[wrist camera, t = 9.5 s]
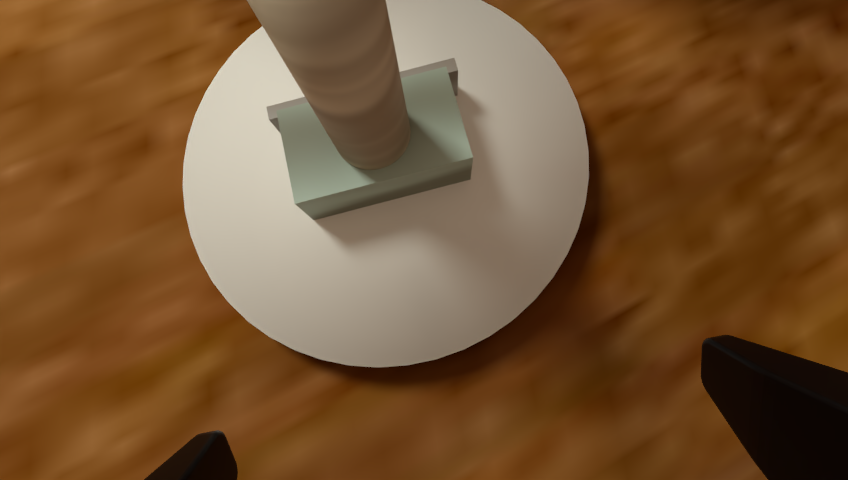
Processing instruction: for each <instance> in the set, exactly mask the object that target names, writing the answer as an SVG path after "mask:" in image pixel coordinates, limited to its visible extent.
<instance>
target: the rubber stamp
mask: <svg viewBox="0 0 848 480" xmlns="http://www.w3.org/2000/svg"><path fill="white" fill-rule="evenodd" d="M247 1H248V3H249V5H250V6H251V8H252V10H253V11H254V13H255V15H256V16H257V18H258V20H259V21H260V23H261V24H262V26H263V28H264V29H265V31H266V33H267V34H268V36H269V38H270V39H271V41H272V43H273V44H274V46H275V48H276V49H277V51H278V53H279V54H280V56H281V58H282V59H283V61H284V63H285V64H286V66H287V68H288V69H289V71H290V73H291V74H292V76H293V78H294V79H295V81H296V83H297V84H298V86H299V88H300V89H301V91H302V93H303V94H304V96H305V97H302V98H298V99H294V100H290V101H287V102H283V103H279V104H275V105H271V106H267V113H268V118H269V120H270V122H271V123H272V124H273V125H274V126H275V128H276V129H277V130H278V131H279V132H280V134H281V137H282V142H283V147H284V152H285V157H286V162H287V167H288V172H289V177H290V182H291V187H292V193H293V198H294V203H295V205H297V206H298V207H299V208H300V209H301V210H302V211H304V212H305V213H306V214H307V215H308V216H309V217H311V218H312V219H313V220H317V219H321V218H325V217H328V216H332V215H336V214H340V213H344V212H348V211H351V210H355V209H359V208H363V207H367V206H371V205H374V204H378V203H382V202H386V201H390V200H394V199H398V198H401V197H405V196H409V195H413V194H417V193H421V192H424V191H428V190H432V189H436V188H440V187H444V186H447V185H451V184H455V183H459V182H463V181H467V180H470V179H471V171H472V163H473V155H472V152H471V149H470V145H469V142H468V138H467V135H466V132H465V128H464V125H463V121H462V118H461V115H460V111H459V108H458V105H457V101H456V98H455V96H457V95H458V68H457V65H456V61H455V58H451V59H447V60H443V61H440V62H436V63H432V64H428V65H424V66H420V67H417V68H413V69H409V70H405V71H401V72H399V67H398V61H397V56H396V51H395V46H394V41H393V36H392V30H391V25H390V20H389V15H388V10H387V5H386V0H247Z"/></svg>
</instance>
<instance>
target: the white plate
mask: <svg viewBox="0 0 848 480" xmlns="http://www.w3.org/2000/svg"><path fill="white" fill-rule="evenodd" d="M386 5H387V10H388V15H389V20H390V25H391V30H392V36H393V41H394V46H395V51H396V56H397V61H398V67H399V72H401V71H405V70H409V69H413V68H417V67H420V66H424V65H428V64H432V63H436V62H440V61H443V60H447V59H451V58H455V61H456V65H457V68H458V95H457V96H455V98H456V101H457V105H458V108H459V111H460V115H461V118H462V121H463V125H464V128H465V132H466V135H467V138H468V142H469V145H470V149H471V152H472V155H473V163H472V171H471V179H470V180H467V181H463V182H459V183H455V184H451V185H447V186H444V187H440V188H436V189H432V190H428V191H424V192H421V193H417V194H413V195H409V196H405V197H401V198H398V199H394V200H390V201H386V202H382V203H378V204H374V205H371V206H367V207H363V208H359V209H355V210H351V211H348V212H344V213H340V214H336V215H332V216H328V217H325V218H321V219H317V220H313V219H312V218H311V217H309V216H308V215H307V214H306V213H305V212H304V211H302V210H301V209H300V208H299V207H298V206H297V205H295V203H294V198H293V193H292V187H291V182H290V177H289V172H288V167H287V162H286V157H285V152H284V147H283V142H282V137H281V134H280V132H279V131H278V130H277V129H276V128H275V126H274V125H273V124H272V123H271V122H270V120H269V118H268V113H267V106H271V105H275V104H279V103H283V102H287V101H290V100H294V99H298V98H302V97H305V96H304V94H303V93H302V91H301V89H300V88H299V86H298V84H297V83H296V81H295V79H294V78H293V76H292V74H291V73H290V71H289V69H288V68H287V66H286V64H285V63H284V61H283V59H282V58H281V56H280V54H279V53H278V51H277V49H276V48H275V46H274V44H273V43H272V41H271V39H270V38H269V36H268V34H267V33H266V31H265V29H264V28H263V26H262V27H261V28H259V29H258V30H257V31H256V32H254V33H253V34H252V35H251V36H250V37H249V38H248V39H247V40H246V41H245V42H244V43H243V44H242V45H240V46H239V47H238V48H237V49H236V50H235V51H234V52H233V54H232V55H231V56H230V57H229V59H228V60H227V61H226V62H225V64H224V65H223V66H222V67H221V69H220V70H219V71H218V73H217V74H216V76H215V78H214V79H213V81H212V83H211V84H210V86H209V87H208V89H207V91H206V92H205V95H204V97H203V99H202V101H201V103H200V105H199V108H198V110H197V112H196V114H195V117H194V120H193V124H192V127H191V130H190V133H189V136H188V141H187V146H186V152H185V158H184V168H183V195H184V206H185V214H186V218H187V222H188V226H189V231H190V235H191V238H192V240H193V243H194V245H195V248H196V251H197V253H198V256H199V258H200V260H201V262H202V264H203V266H204V268H205V269H206V271H207V273H208V275H209V276H210V278H211V280H212V282H213V283H214V284H215V286H216V287H217V288H218V290H219V291H220V292H221V293H222V295H223V296H224V297H225V299H226V300H227V301H228V302H229V304H231V305H232V306H233V307H234V308H235V309H236V310H237V311H238V312H239V313H240V314H241V315H242V316H243V317H244V318H245V319H246V320H247V321H248V322H249V323H251V324H252V325H254V326H255V327H256V328H258V329H259V330H261V331H262V332H263V333H265V334H266V335H267V336H269V337H270V338H272V339H274V340H276V341H278V342H280V343H282V344H284V345H286V346H287V347H289V348H291V349H293V350H295V351H298V352H301V353H304V354H306V355H309V356H312V357H315V358H318V359H320V360H325V361H330V362H334V363H339V364H344V365H349V366H363V367H392V366H407V365H412V364H417V363H421V362H426V361H431V360H436V359H439V358H441V357H444V356H447V355H450V354H453V353H456V352H458V351H461V350H464V349H466V348H468V347H470V346H472V345H474V344H476V343H478V342H480V341H481V340H483V339H485V338H487V337H489V336H491V335H492V334H494V333H495V332H497V331H498V330H499V329H501V328H502V327H504V326H505V325H507V324H508V323H509V322H511V321H512V320H514V319H515V318H516V317H517V316H518V315H519V314H520V313H521V312H522V311H523V310H525V309H526V308H527V307H528V306H529V305H530V304H531V303H532V302H533V301H534V300H535V299H536V298H537V297H538V295H539V294H540V293H541V292H542V291H543V289H544V288H545V287H546V286H547V285H548V283H549V282H550V281H551V280H552V278H553V277H554V275H555V274H556V272H557V270H558V269H559V267H560V266H561V264H562V262H563V261H564V259H565V257H566V256H567V254H568V252H569V249H570V247H571V245H572V243H573V240H574V238H575V236H576V233H577V231H578V229H579V225H580V221H581V218H582V214H583V211H584V207H585V203H586V196H587V188H588V180H589V151H588V144H587V138H586V131H585V125H584V122H583V119H582V116H581V112H580V109H579V106H578V102H577V100H576V98H575V96H574V94H573V91H572V89H571V87H570V85H569V83H568V81H567V79H566V77H565V76H564V74H563V73H562V71H561V69H560V68H559V66H558V65H557V63H556V62H555V60H554V59H553V57H552V56H551V55H550V54H549V53H548V52H547V50H546V49H545V48H544V47H543V46H542V44H541V43H540V42H539V41H538V40H537V39H536V38H535V37H534V36H533V35H532V34H530V33H529V32H528V31H527V30H526V29H525V28H524V27H523V26H522V25H521V24H519V23H518V22H516V21H515V20H514V19H512V18H511V17H509V16H508V15H506V14H505V13H503V12H502V11H501V10H499V9H497V8H495V7H493V6H491V5H489V4H487V3H485V2H484V1H482V0H386Z"/></svg>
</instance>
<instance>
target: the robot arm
mask: <svg viewBox="0 0 848 480" xmlns="http://www.w3.org/2000/svg"><path fill="white" fill-rule="evenodd" d="M701 379H702V383H703V385H704V387H705V389H706V391H707V392H708V394H709V395H710V397H711V398H712V400H713V401H714V403H715V404H716V406H717V407H718V409H719V410H720V412H721V413H722V415H723V416H724V418H725V419H726V421H727V422H728V424H729V425H730V427H731V428H732V430H733V431H734V433H735V434H736V436H737V437H738V439H739V440H740V442H741V443H742V445H743V446H744V448H745V449H746V451H747V452H748V454H749V455H750V456H751V458H752V459H753V461H754V462H755V463H756V465H757V466H758V467H759V469H760V470H761V471H762V472H763V474H764V475H765V476H766V477H767V479H768V480H848V372H844V371H841V370H838V369H835V368H832V367H829V366H825V365H822V364H819V363H816V362H813V361H810V360H806V359H803V358H800V357H797V356H794V355H791V354H787V353H784V352H781V351H778V350H775V349H772V348H768V347H765V346H762V345H759V344H756V343H753V342H750V341H746V340H743V339H740V338H737V337H734V336H730V335H722V336H716V337H711V338H707V339H705V340H704V342H703V344H702V358H701ZM237 474H238V471H237V464H236V461H235V459H234V456H233V454H232V451H231V449H230V446H229V444H228V441H227V439H226V437H225V435H224V433H223V432H221V431H218V430H217V431H211V432H206V433H201V434H198V435H196V436H195V437H194V438H193V439H192V440H190V441H189V442H188V443H187V444H186V445H184V446H183V447H182V448H181V449H180V450H179V451H177V452H176V453H175V454H174V455H173V456H171V457H170V458H169V459H168V460H167V461H166V462H164V463H163V464H162V465H161V466H160V467H158V468H157V469H156V470H155V471H154V472H153V473H151V474H150V475H149V476H148V477H147V478H145V479H144V480H237Z"/></svg>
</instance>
